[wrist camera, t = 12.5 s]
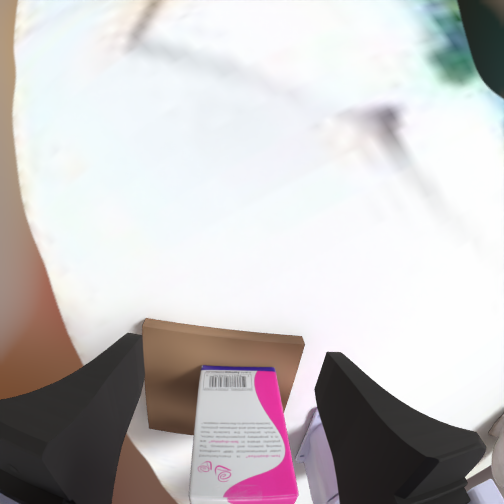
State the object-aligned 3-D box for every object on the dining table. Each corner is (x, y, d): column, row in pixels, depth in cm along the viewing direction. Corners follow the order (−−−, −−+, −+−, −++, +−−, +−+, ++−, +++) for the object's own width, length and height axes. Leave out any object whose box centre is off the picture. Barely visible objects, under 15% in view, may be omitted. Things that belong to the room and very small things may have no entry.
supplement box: (203, 413, 24) (194, 528, 13) (200, 363, 22) (185, 495, 11) (269, 415, 24) (284, 528, 14) (277, 365, 23) (301, 495, 12)
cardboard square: (272, 426, 28) (274, 440, 26) (152, 414, 26) (149, 428, 25) (299, 330, 24) (304, 344, 22) (148, 313, 23) (142, 326, 21)
